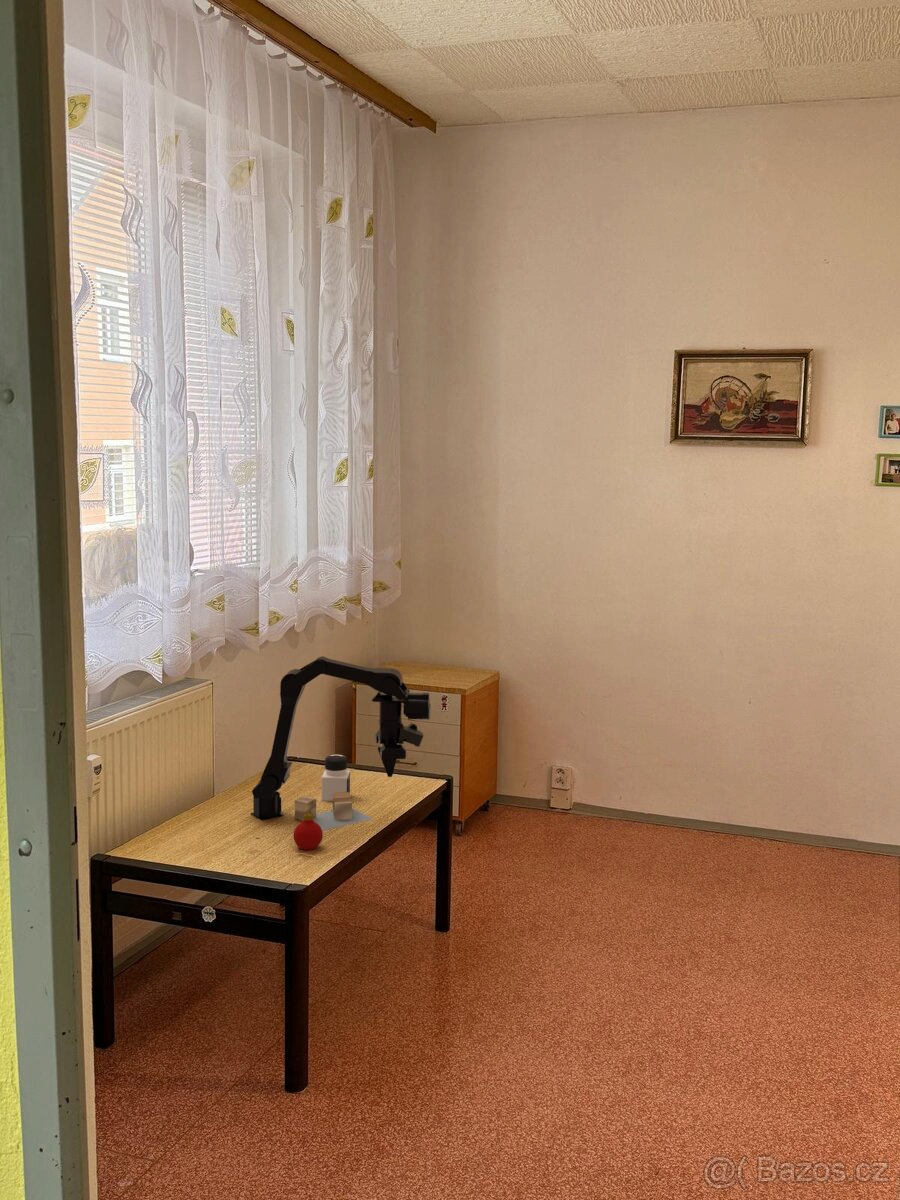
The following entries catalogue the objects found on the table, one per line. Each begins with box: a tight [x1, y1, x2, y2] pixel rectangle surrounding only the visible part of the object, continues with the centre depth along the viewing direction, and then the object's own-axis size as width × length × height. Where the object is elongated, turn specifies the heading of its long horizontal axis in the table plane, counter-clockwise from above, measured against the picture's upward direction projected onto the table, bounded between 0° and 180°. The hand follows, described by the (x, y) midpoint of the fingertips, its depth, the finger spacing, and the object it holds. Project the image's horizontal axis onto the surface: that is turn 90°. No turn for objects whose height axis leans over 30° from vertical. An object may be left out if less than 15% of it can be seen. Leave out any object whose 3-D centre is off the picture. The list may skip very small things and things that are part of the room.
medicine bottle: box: [321, 754, 351, 802], centre depth 315 cm, size 7×7×12 cm
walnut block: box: [332, 791, 353, 820], centre depth 302 cm, size 4×4×9 cm
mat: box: [300, 808, 374, 832], centre depth 298 cm, size 16×12×1 cm
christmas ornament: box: [292, 810, 324, 851], centre depth 276 cm, size 7×7×10 cm
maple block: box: [294, 795, 317, 822], centre depth 298 cm, size 4×4×5 cm
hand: (389, 776), depth 297 cm, fingers closed
